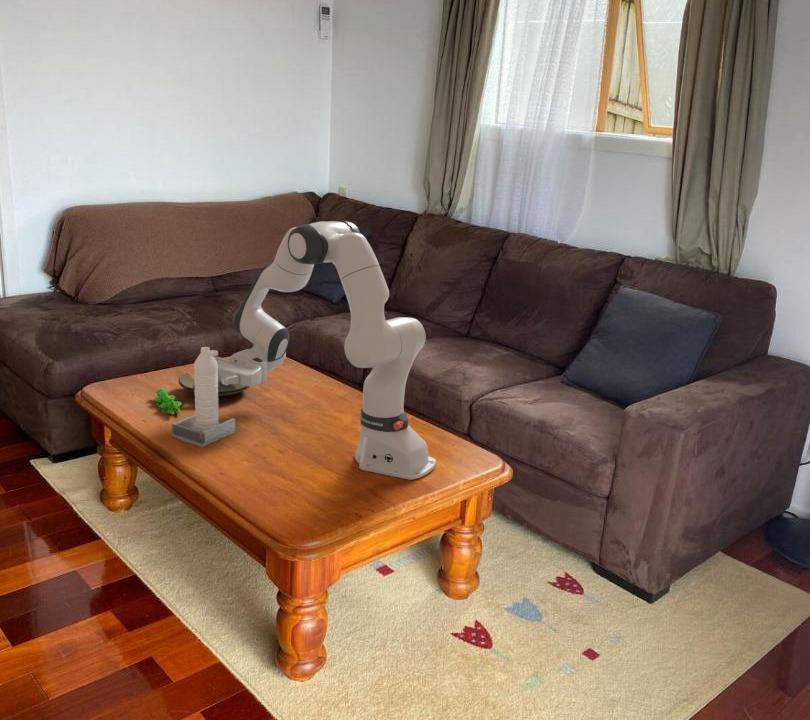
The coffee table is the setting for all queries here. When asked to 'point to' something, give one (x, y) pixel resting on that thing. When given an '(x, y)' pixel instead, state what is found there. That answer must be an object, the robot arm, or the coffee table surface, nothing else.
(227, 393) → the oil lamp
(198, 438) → the keeper cradle
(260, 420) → the coffee table surface
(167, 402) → the crocodile figurine
